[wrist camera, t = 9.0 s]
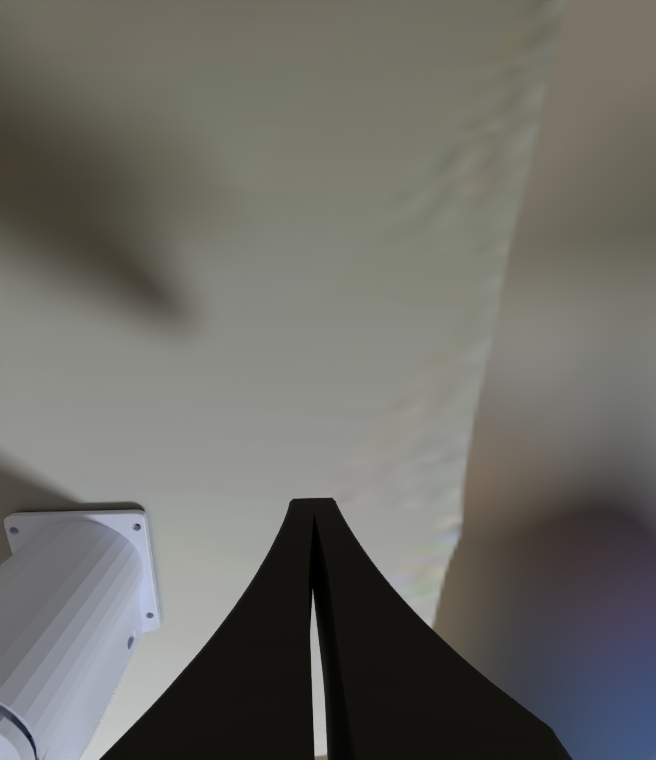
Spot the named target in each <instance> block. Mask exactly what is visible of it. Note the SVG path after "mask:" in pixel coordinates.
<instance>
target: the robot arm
mask: <svg viewBox="0 0 656 760" xmlns="http://www.w3.org/2000/svg"><path fill="white" fill-rule="evenodd" d="M136 524H139V525H140V526H137V525H136ZM4 526H5V530H6V534H7V537H8V541H9V545H10V548H11V552H12V555H11V556H10V557H9V558H8V559H7V560H6V561H5V562H3V563H2V564H1V565H0V760H80V758H81V757H82V755H83V754H84V752H85V750H86V749H87V747H88V745H89V744H90V742H91V740H92V738H93V736H94V734H95V732H96V730H97V728H98V726H99V723H100V721H101V719H102V717H103V715H104V713H105V711H106V709H107V707H108V705H109V703H110V700H111V698H112V696H113V694H114V692H115V690H116V688H117V686H118V684H119V682H120V680H121V677H122V675H123V673H124V671H125V669H126V667H127V665H128V663H129V661H130V659H131V657H132V654H133V652H134V650H135V648H136V646H137V644H138V642H139V640H140V638H141V636H142V634H143V632H154V631H156V630H158V628H159V626H160V624H161V617H160V609H159V602H158V595H157V587H156V580H155V573H154V565H153V558H152V551H151V543H150V536H149V529H148V521H147V515H146V513H145V512H144V511H142V510H101V511H62V512H22V513H12V514H10V515H9V516H8V517H6V518H5V519H4ZM312 591H313V594H314V603H315V611H316V620H317V628H318V637H319V646H320V654H321V663H322V671H323V681H324V693H325V711H326V733H327V755H328V760H572V758H571V757H570V755H569V754H568V753H567V751H566V749H565V748H564V747H563V745H562V744H561V742H560V741H559V739H558V738H557V736H556V735H555V733H554V732H553V730H552V729H551V728H550V727H549V726H548V725H546V724H545V723H544V722H542V721H541V720H539V718H537V717H536V716H535V715H533V714H532V713H531V712H529V711H528V710H527V709H525V708H524V707H523V706H521V705H520V704H519V703H518V702H516V701H515V700H514V699H512V698H511V697H510V696H508V695H507V694H506V693H505V692H503V691H502V690H501V689H499V688H498V687H497V686H495V685H494V684H493V683H492V682H490V681H489V680H488V679H487V678H485V677H484V676H483V675H482V674H481V673H479V672H478V671H477V670H476V669H475V668H474V667H473V666H471V665H470V664H469V663H468V662H467V661H465V660H464V659H463V658H462V657H461V656H460V655H459V654H458V653H457V652H456V651H454V650H453V649H452V648H451V647H450V646H449V645H448V644H447V643H446V642H445V641H444V640H443V639H442V638H441V637H440V636H439V635H438V634H437V633H436V632H434V631H433V630H432V629H431V628H430V627H429V626H428V625H427V624H426V623H425V622H424V621H423V620H422V619H421V618H420V617H419V616H418V615H417V614H416V613H415V612H414V611H413V609H412V608H411V607H410V606H409V605H408V604H407V603H406V602H405V601H404V600H403V599H402V598H401V596H400V595H399V594H398V593H397V592H396V591H395V590H394V588H393V587H392V586H391V585H390V584H389V582H388V581H387V580H386V579H385V578H384V576H383V575H382V574H381V573H380V571H379V570H378V569H377V567H376V566H375V565H374V563H373V562H372V561H371V559H370V558H369V557H368V555H367V554H366V552H365V551H364V550H363V548H362V547H361V545H360V543H359V542H358V540H357V539H356V537H355V536H354V534H353V533H352V531H351V530H350V528H349V526H348V525H347V523H346V521H345V519H344V518H343V516H342V514H341V512H340V510H339V508H338V506H337V504H336V501H335V500H334V499H333V498H303V499H293V500H292V501H290V503H289V508H288V511H287V514H286V516H285V519H284V521H283V524H282V526H281V528H280V531H279V533H278V535H277V537H276V539H275V541H274V543H273V545H272V547H271V549H270V551H269V553H268V554H267V556H266V558H265V559H264V561H263V563H262V565H261V566H260V568H259V570H258V572H257V573H256V575H255V577H254V578H253V580H252V581H251V583H250V584H249V586H248V588H247V589H246V591H245V592H244V594H243V595H242V597H241V598H240V599H239V601H238V602H237V604H236V605H235V607H234V608H233V609H232V611H231V612H230V613H229V615H228V616H227V617H226V619H225V620H224V621H223V623H222V624H221V625H220V627H219V628H218V629H217V631H216V632H215V633H214V635H213V636H212V637H211V638H210V640H209V641H208V642H207V643H206V645H205V646H204V647H203V648H202V650H201V651H200V652H199V653H198V654H197V655H196V657H195V658H194V659H193V660H192V661H191V662H190V663H189V665H188V666H187V667H186V668H185V669H184V670H183V671H182V673H181V674H180V675H179V676H178V677H177V678H176V680H175V681H174V682H173V683H172V684H171V685H170V686H169V688H168V689H167V690H166V691H165V692H164V693H163V694H162V695H161V697H160V698H159V699H158V700H157V701H156V702H155V703H154V704H153V705H152V706H151V707H150V708H149V709H148V710H147V711H146V712H145V713H144V715H143V716H142V717H141V718H140V719H139V720H138V721H137V722H136V723H135V724H134V725H133V726H132V727H131V728H130V729H129V730H128V731H127V732H126V733H125V734H124V735H123V736H122V737H121V738H120V739H119V740H118V741H117V742H116V743H115V744H114V745H113V746H112V747H111V748H110V749H109V750H108V751H107V752H106V753H105V754H104V755H103V756H102V757H101V758H100V759H99V760H315V757H314V731H313V706H312V678H311V649H310V625H311V608H312Z"/></svg>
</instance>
